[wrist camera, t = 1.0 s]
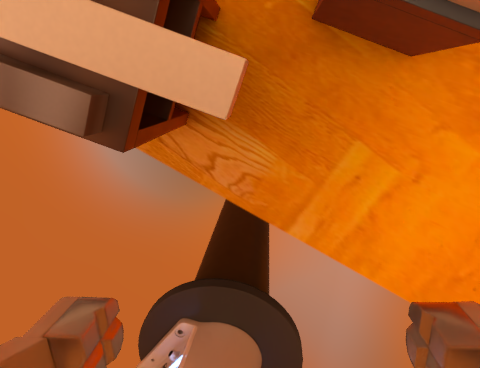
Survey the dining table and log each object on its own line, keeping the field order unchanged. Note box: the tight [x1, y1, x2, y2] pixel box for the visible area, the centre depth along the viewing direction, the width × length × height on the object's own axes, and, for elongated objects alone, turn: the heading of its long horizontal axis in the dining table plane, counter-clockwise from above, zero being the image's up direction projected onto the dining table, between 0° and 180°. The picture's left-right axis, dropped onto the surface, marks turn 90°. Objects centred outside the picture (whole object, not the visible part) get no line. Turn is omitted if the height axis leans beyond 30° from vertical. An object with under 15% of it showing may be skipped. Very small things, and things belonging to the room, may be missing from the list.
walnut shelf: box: [0, 0, 220, 153], centre depth 30 cm, size 13×15×22 cm
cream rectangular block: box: [0, 0, 249, 120], centre depth 21 cm, size 20×4×2 cm, turn 71°
